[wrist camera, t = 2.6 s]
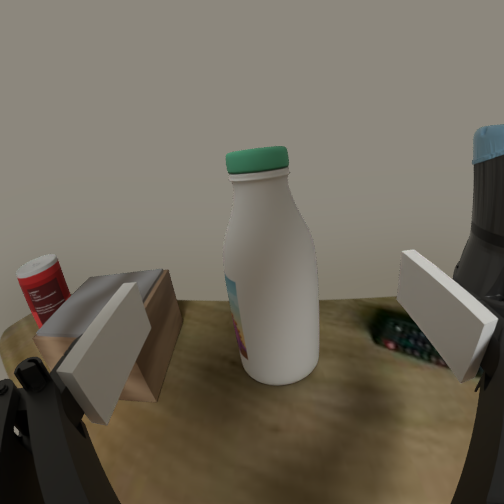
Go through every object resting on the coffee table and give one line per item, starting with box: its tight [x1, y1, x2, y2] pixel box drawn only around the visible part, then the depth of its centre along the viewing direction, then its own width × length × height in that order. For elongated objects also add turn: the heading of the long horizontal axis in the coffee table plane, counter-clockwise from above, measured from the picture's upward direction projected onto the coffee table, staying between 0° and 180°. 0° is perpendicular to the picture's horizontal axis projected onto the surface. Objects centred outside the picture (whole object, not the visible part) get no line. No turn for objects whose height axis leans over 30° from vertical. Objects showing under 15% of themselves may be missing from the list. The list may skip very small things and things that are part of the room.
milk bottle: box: [223, 146, 319, 386], centre depth 24 cm, size 8×8×20 cm
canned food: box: [16, 254, 71, 329], centre depth 35 cm, size 8×8×11 cm
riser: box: [33, 269, 183, 402], centre depth 29 cm, size 12×14×8 cm
